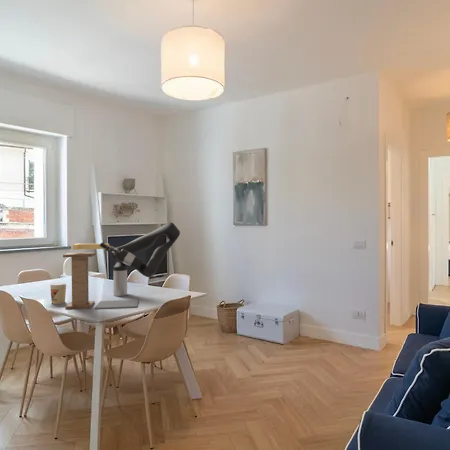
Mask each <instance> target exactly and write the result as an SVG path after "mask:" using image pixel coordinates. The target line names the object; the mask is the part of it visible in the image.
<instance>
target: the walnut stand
mask: <svg viewBox="0 0 450 450" xmlns="http://www.w3.org/2000/svg"><path fill="white" fill-rule="evenodd" d="M96 253H97V252H95V251H94V252H93V251H92V252H89V251H88V252H67V253H64V254H63V255H62V258H71V301H70V302H69V303H68V304H66V306H65V310H79V309H80V310H82V309H83V310H84V309H85V310H86V309H91V308H92V307H93V306H94V305H95V300H89V258H92V257H93V256H96V255H97V254H96Z"/></svg>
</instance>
